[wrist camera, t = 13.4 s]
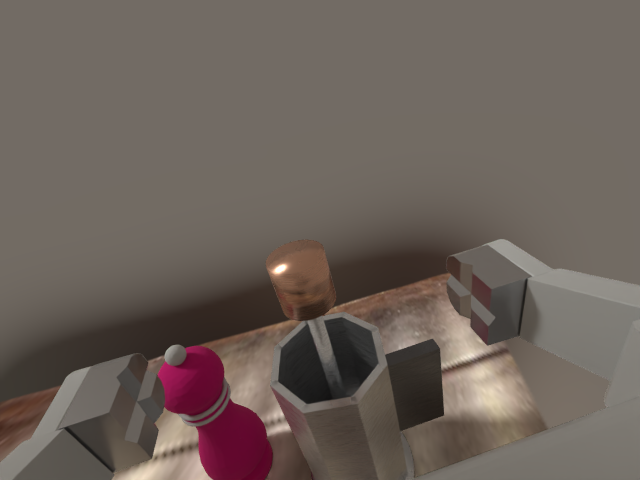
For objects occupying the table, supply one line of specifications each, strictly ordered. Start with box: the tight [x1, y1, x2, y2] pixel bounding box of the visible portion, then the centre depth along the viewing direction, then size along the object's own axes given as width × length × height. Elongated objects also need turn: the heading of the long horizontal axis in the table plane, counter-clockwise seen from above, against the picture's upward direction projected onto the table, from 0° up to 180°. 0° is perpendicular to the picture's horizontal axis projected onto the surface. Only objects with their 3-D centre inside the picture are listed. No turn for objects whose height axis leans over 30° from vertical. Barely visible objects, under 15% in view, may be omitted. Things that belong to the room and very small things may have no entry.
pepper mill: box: [158, 345, 273, 480], centre depth 33 cm, size 7×7×20 cm
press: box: [270, 312, 444, 480], centre depth 31 cm, size 11×14×18 cm
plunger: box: [266, 240, 347, 400], centre depth 28 cm, size 6×6×26 cm
